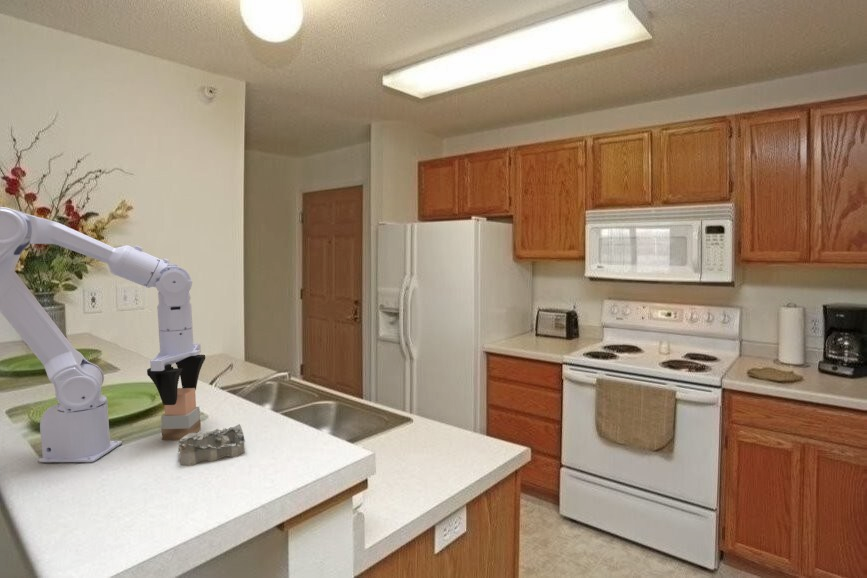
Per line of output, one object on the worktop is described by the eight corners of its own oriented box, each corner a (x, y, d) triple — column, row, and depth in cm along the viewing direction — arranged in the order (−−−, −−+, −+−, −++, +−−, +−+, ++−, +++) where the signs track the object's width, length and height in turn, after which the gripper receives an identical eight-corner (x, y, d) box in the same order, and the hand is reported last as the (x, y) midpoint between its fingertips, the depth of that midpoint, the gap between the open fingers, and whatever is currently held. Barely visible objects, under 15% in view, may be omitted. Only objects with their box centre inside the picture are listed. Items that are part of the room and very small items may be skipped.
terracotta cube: (164, 415, 93) (163, 394, 92) (175, 407, 97) (174, 388, 96) (186, 414, 93) (184, 394, 92) (196, 407, 97) (195, 388, 96)
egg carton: (177, 470, 81) (176, 446, 81) (180, 452, 88) (178, 430, 87) (246, 457, 86) (245, 434, 85) (243, 441, 92) (242, 420, 92)
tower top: (161, 429, 92) (161, 416, 92) (174, 419, 97) (173, 407, 97) (188, 428, 93) (188, 415, 92) (200, 418, 97) (199, 406, 97)
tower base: (162, 441, 93) (161, 428, 92) (176, 431, 98) (175, 419, 97) (188, 441, 93) (187, 428, 92) (200, 431, 98) (200, 418, 97)
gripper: (176, 335, 86) (181, 410, 87) (213, 322, 100) (217, 386, 101) (136, 336, 86) (141, 411, 87) (179, 322, 100) (183, 386, 101)
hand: (180, 398), depth 94 cm, fingers open, 7 cm apart
